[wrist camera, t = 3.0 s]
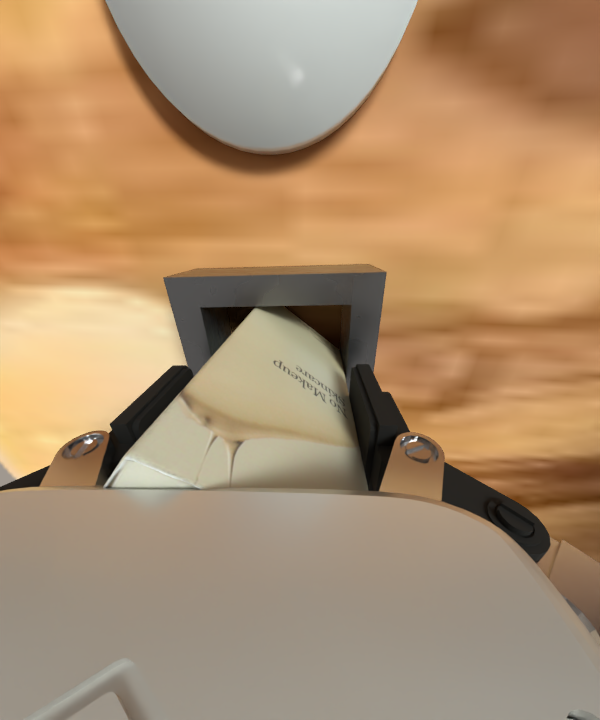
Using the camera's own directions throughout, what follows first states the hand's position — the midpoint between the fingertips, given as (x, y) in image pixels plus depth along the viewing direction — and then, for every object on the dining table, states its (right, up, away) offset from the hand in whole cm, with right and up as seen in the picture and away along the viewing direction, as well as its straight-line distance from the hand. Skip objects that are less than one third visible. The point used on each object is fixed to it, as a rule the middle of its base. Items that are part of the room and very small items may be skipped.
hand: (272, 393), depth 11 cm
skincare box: (0, +3, +5) cm, 6 cm away
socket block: (0, +2, +5) cm, 5 cm away
